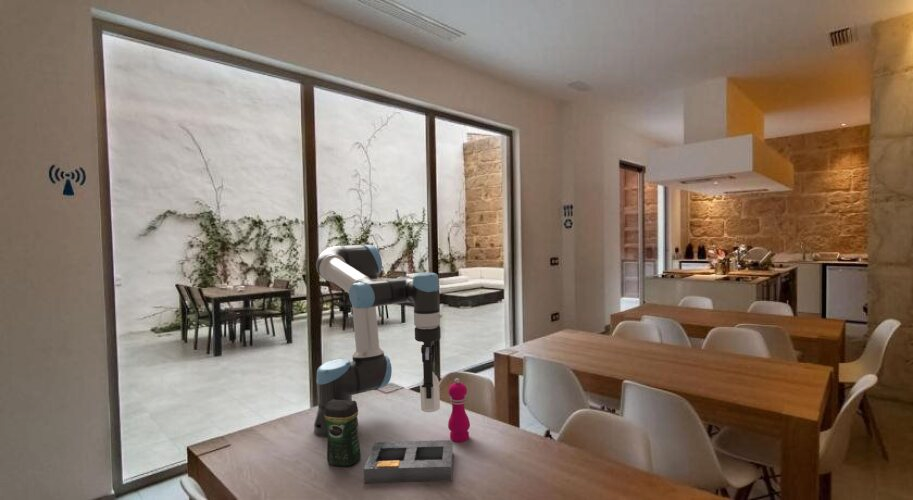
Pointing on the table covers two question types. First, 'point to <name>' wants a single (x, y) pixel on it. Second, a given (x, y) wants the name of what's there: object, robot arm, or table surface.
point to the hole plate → (409, 462)
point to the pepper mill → (458, 413)
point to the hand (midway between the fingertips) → (430, 403)
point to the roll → (436, 395)
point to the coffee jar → (342, 432)
